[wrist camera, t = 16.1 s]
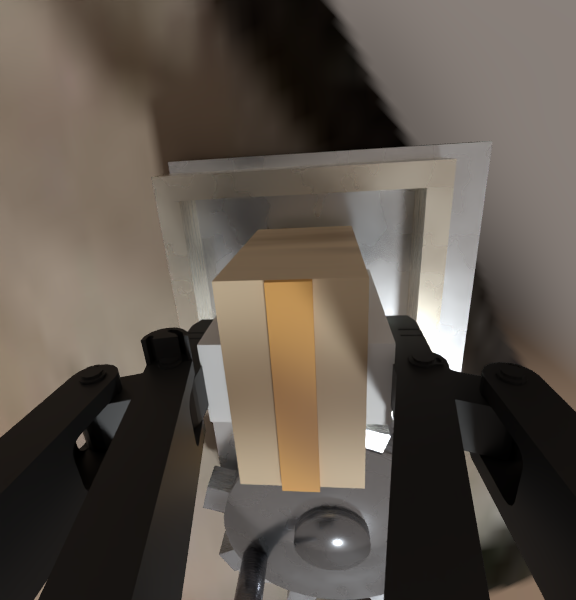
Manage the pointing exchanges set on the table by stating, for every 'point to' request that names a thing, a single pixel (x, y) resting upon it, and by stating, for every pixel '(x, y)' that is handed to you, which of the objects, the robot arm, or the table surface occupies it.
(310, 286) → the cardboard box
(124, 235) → the table surface
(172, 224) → the base plate
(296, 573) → the sprocket
